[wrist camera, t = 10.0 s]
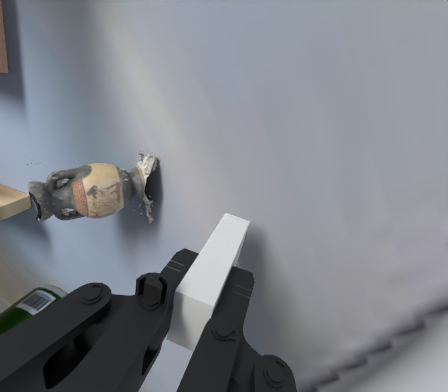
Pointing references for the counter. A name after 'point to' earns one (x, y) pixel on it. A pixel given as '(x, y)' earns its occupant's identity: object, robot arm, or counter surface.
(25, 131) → the counter surface
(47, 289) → the beer can
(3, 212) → the frame
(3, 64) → the tile
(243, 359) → the robot arm
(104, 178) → the vase
